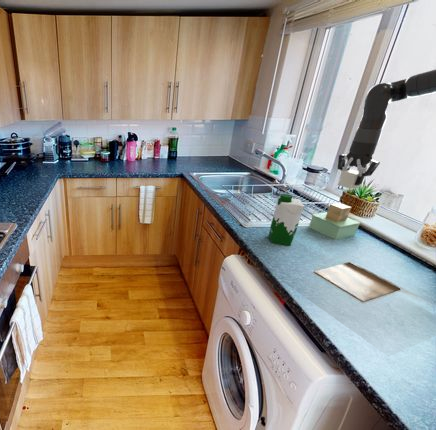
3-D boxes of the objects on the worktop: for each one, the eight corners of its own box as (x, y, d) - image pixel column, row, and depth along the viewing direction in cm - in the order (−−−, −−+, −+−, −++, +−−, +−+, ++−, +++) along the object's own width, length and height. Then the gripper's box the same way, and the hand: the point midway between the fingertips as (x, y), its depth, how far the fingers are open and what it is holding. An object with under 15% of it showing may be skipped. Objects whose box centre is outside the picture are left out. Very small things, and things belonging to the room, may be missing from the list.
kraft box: (334, 215, 126) (339, 202, 123) (346, 220, 121) (351, 207, 119) (325, 217, 124) (330, 204, 121) (337, 221, 120) (342, 208, 117)
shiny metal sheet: (348, 263, 106) (349, 262, 106) (400, 289, 92) (400, 288, 92) (313, 272, 100) (314, 271, 100) (363, 302, 87) (363, 301, 87)
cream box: (346, 183, 120) (351, 169, 117) (359, 187, 115) (365, 173, 113) (337, 184, 118) (342, 170, 115) (350, 188, 114) (355, 174, 111)
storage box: (325, 226, 133) (331, 211, 130) (354, 239, 123) (361, 222, 119) (306, 230, 129) (311, 214, 126) (333, 244, 119) (340, 226, 115)
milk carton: (266, 234, 125) (278, 191, 117) (289, 237, 123) (303, 194, 115) (269, 243, 118) (282, 198, 110) (293, 247, 115) (308, 201, 107)
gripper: (393, 143, 104) (375, 187, 111) (352, 137, 116) (338, 177, 123) (380, 144, 102) (362, 189, 109) (339, 137, 114) (325, 178, 121)
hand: (349, 182), depth 116 cm, fingers closed on cream box, 5 cm apart
